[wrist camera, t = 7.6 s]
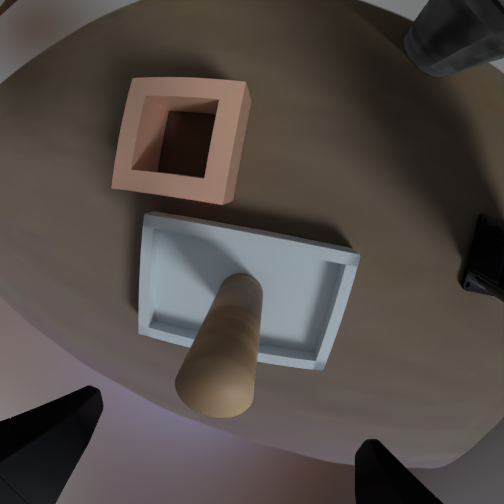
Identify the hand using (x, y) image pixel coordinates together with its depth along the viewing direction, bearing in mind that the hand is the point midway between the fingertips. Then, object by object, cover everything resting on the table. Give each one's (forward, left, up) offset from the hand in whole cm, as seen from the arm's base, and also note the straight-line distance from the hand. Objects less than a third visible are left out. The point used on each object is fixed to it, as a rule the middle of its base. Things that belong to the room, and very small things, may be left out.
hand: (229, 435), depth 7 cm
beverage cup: (-10, -21, -13) cm, 27 cm away
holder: (+6, -9, -13) cm, 17 cm away
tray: (+1, 0, -13) cm, 13 cm away
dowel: (+1, 0, -12) cm, 12 cm away
